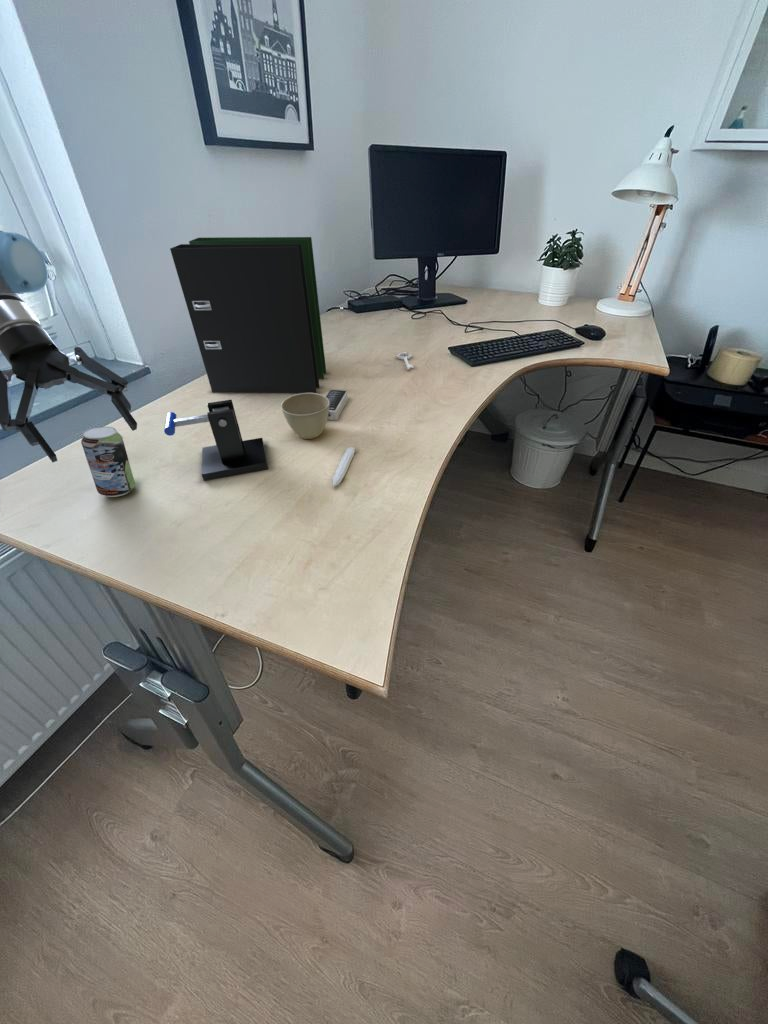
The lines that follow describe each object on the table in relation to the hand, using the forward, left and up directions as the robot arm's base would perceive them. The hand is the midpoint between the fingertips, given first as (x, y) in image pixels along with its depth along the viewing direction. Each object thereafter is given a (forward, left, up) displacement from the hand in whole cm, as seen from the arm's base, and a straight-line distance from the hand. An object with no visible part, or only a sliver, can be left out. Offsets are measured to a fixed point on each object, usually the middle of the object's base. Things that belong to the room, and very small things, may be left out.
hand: (96, 442), depth 76 cm
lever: (+17, +1, 0) cm, 17 cm away
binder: (+32, +37, -9) cm, 50 cm away
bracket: (+21, +1, -9) cm, 23 cm away
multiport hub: (+45, +16, -9) cm, 49 cm away
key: (+70, +38, -9) cm, 80 cm away
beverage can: (+1, -3, -9) cm, 10 cm away
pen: (+41, -9, -9) cm, 43 cm away
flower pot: (+37, +7, -9) cm, 39 cm away
